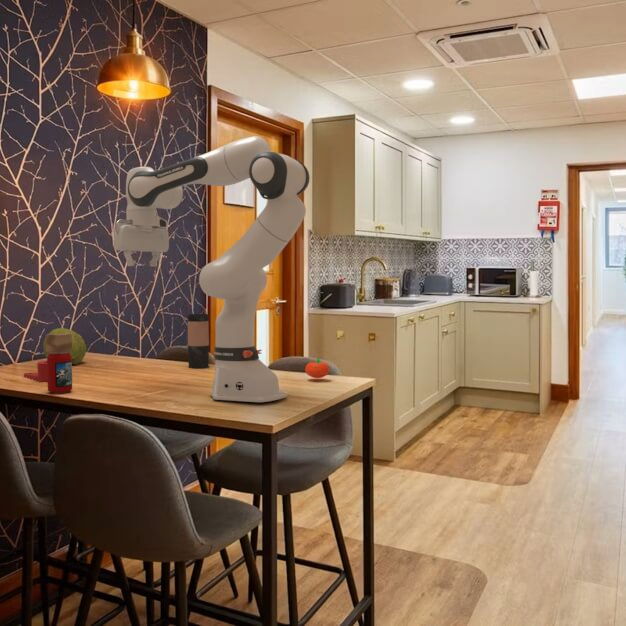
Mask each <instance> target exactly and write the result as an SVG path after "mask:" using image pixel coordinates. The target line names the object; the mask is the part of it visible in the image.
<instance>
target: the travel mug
mask: <svg viewBox="0 0 626 626" xmlns="http://www.w3.org/2000/svg"><path fill="white" fill-rule="evenodd" d="M209 324H210V323H209V313H190V314H187V358H188V361H187V362H188V368H189V369H192V370H193V369H194V370H204V369H209V364H210V363H209V362H210V360H209V357H210V354H209V353H210V338H209V337H210V335H209V332H210V331H209V327H210V326H209Z"/></svg>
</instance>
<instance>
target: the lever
mask: <svg viewBox="0 0 626 626" xmlns="http://www.w3.org/2000/svg"><path fill="white" fill-rule="evenodd" d="M36 365H37V372H24V373H23V378H26V377H27V378H26V379H29V378H30V379H29V380H32V379H33V380H32V381H35V380H36V381H35V382H38V381H39V383H43V382H48V381H47V360H42V361H38V362H37V364H36Z"/></svg>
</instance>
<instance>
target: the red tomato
mask: <svg viewBox="0 0 626 626" xmlns="http://www.w3.org/2000/svg"><path fill="white" fill-rule="evenodd" d="M304 369H305V370H304V371H305V373H306V375H307V376H309V377H311V378H314V379H320V378H321V379H322V378H324V377H326V376H327V375H328V374H329V373H330V366H329V365H328V364H327V363H326V362H322V361H321V362H320V358H316V361H315V362H313V361H312V362H308V363H307V364H306V366H305V368H304Z"/></svg>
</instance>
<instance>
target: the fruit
mask: <svg viewBox="0 0 626 626" xmlns="http://www.w3.org/2000/svg"><path fill="white" fill-rule="evenodd" d="M57 333H65V334H72V351H69V353H70V355H71V356H72V364H76V365H79V364H80V363H81V362H82V361H83V360H84V358H85V356H86V354H87V348H88V347H87V345H86V343H85V340H84V338H83V336H81V334H79V333H77V332H75V331H74V330H73V329H69V328H65V327H60V328H59V327H58V328H55V329H52V330H51V331H50V332H49V333H48V334H57ZM42 346H43V347H42V348H43V349H42V350H43V353H44V356H45V357H46V358H47V357H48V355H49V352H46V337H45V338H44V340H43V344H42Z"/></svg>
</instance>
